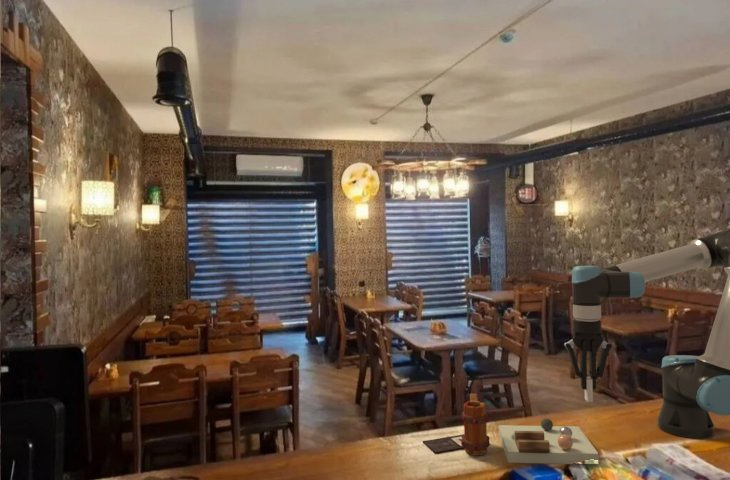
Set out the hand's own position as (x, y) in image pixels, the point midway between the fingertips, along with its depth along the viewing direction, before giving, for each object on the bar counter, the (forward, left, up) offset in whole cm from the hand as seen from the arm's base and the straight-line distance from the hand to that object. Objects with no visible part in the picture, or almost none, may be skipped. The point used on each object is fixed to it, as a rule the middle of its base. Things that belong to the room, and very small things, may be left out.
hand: (588, 400), depth 148 cm
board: (+13, 0, -14) cm, 19 cm away
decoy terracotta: (+9, +7, -9) cm, 15 cm away
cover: (+18, +7, -11) cm, 22 cm away
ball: (+7, 0, -10) cm, 12 cm away
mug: (+33, +1, -15) cm, 36 cm away
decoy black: (+11, -7, -10) cm, 16 cm away
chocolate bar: (+38, -3, -15) cm, 41 cm away
